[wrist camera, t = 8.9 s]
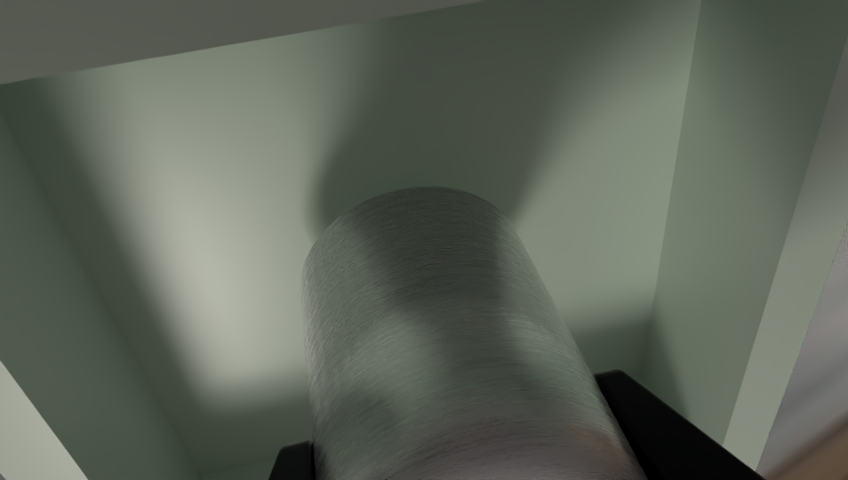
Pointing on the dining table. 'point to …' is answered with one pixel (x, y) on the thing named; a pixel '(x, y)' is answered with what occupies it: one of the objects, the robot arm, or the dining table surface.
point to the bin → (388, 171)
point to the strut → (445, 352)
